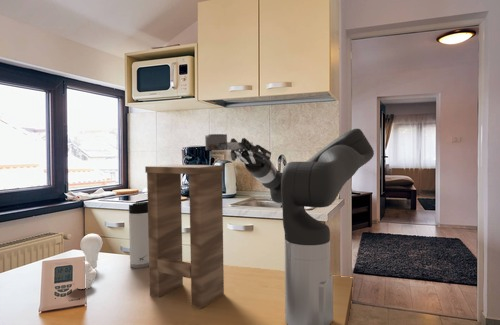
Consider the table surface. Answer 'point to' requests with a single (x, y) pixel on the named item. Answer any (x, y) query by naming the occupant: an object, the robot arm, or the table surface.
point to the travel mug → (139, 235)
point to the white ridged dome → (89, 274)
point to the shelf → (201, 231)
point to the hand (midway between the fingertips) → (237, 141)
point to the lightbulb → (91, 248)
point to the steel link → (221, 143)
